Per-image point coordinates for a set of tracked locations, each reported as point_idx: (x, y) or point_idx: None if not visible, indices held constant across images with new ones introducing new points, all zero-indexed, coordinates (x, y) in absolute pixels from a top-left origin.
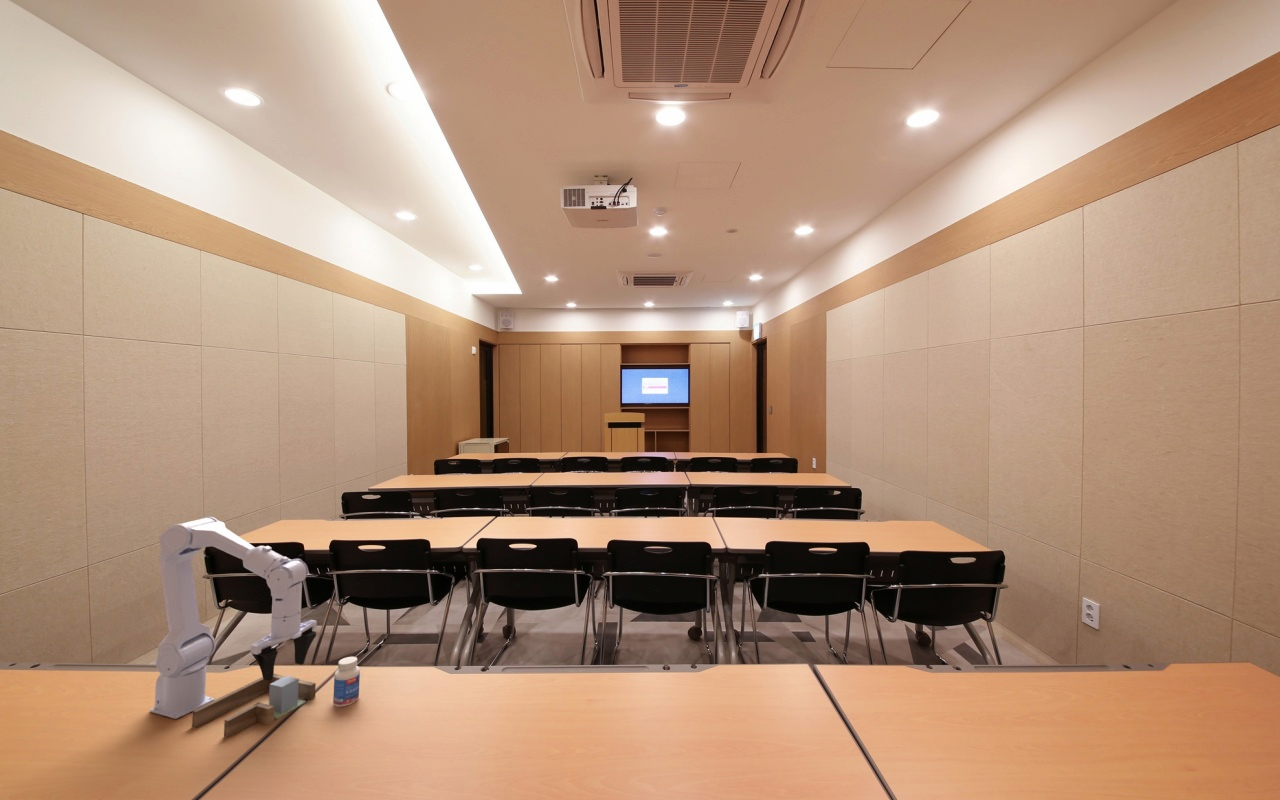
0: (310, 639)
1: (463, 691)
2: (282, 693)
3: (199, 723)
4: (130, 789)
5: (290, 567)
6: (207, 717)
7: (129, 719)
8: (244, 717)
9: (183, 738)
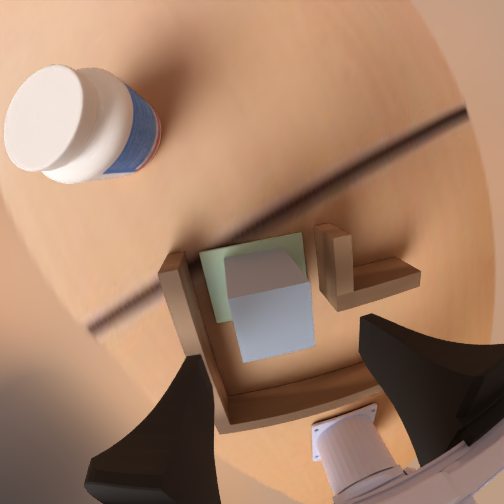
0: (140, 455)
1: None
2: (298, 271)
3: None
4: (493, 235)
5: None
6: None
7: (384, 434)
8: (377, 275)
9: (414, 330)
